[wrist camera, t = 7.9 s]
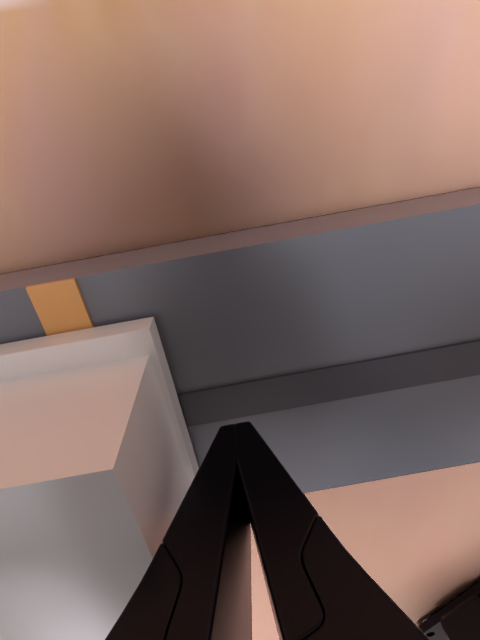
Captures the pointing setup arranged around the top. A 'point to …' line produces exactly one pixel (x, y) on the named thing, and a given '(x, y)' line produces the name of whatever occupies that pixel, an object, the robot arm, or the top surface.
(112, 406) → the fader knob
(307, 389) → the fader track
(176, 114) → the top surface
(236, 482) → the robot arm
